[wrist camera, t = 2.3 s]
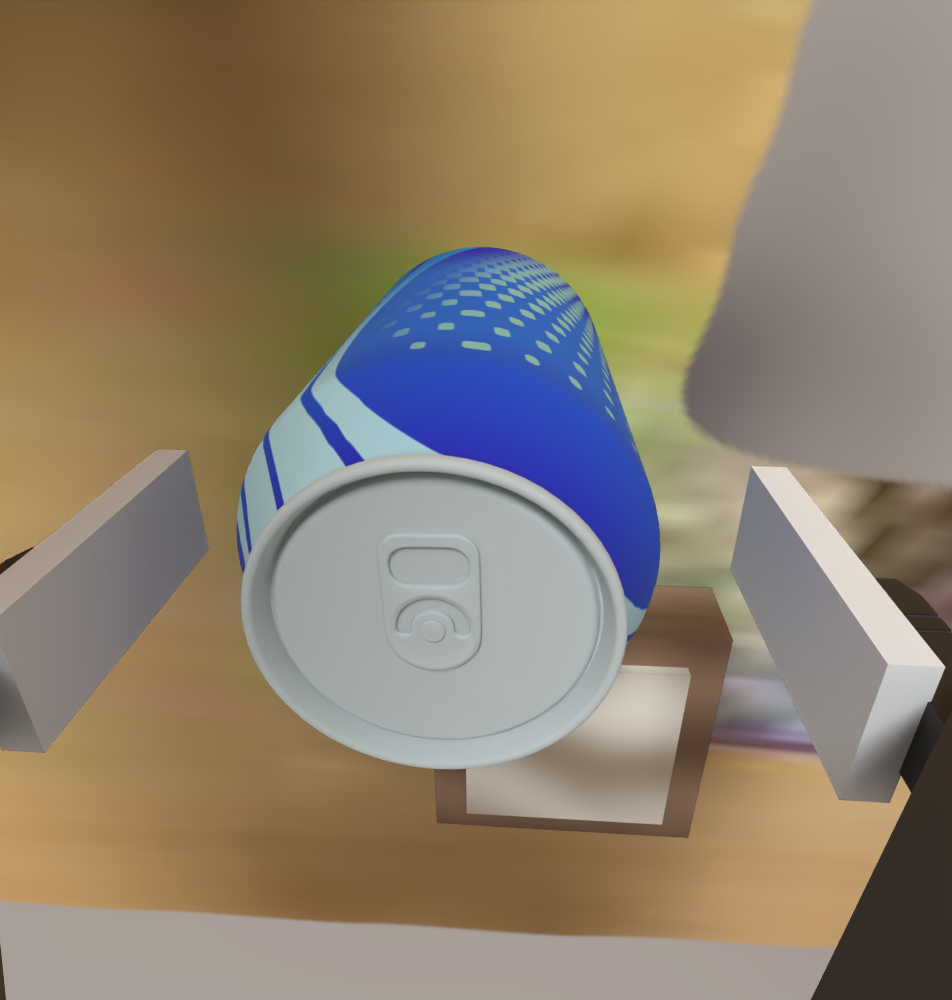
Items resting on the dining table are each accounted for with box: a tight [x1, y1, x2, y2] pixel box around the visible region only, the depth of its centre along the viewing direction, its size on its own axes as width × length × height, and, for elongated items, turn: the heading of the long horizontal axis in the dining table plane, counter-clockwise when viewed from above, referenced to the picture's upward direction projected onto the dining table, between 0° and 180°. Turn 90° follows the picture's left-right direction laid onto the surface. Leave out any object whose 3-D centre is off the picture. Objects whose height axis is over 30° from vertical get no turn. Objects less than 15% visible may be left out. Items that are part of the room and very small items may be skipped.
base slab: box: [435, 586, 733, 838], centre depth 31 cm, size 12×12×4 cm
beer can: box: [237, 247, 660, 769], centre depth 18 cm, size 8×8×16 cm
